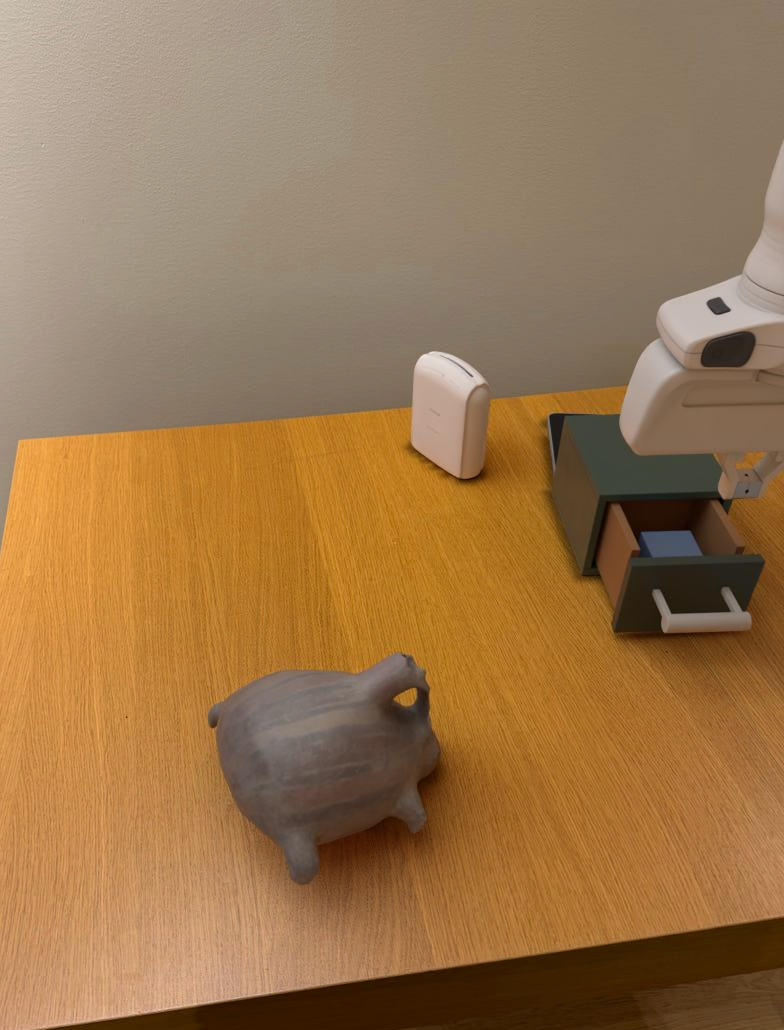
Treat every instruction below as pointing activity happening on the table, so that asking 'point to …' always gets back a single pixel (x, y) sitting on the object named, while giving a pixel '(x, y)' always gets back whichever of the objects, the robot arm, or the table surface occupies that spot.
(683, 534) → the block
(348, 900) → the table surface
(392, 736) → the piggy bank
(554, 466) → the smartphone
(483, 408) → the photo printer
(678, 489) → the cabinet
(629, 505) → the drawer
